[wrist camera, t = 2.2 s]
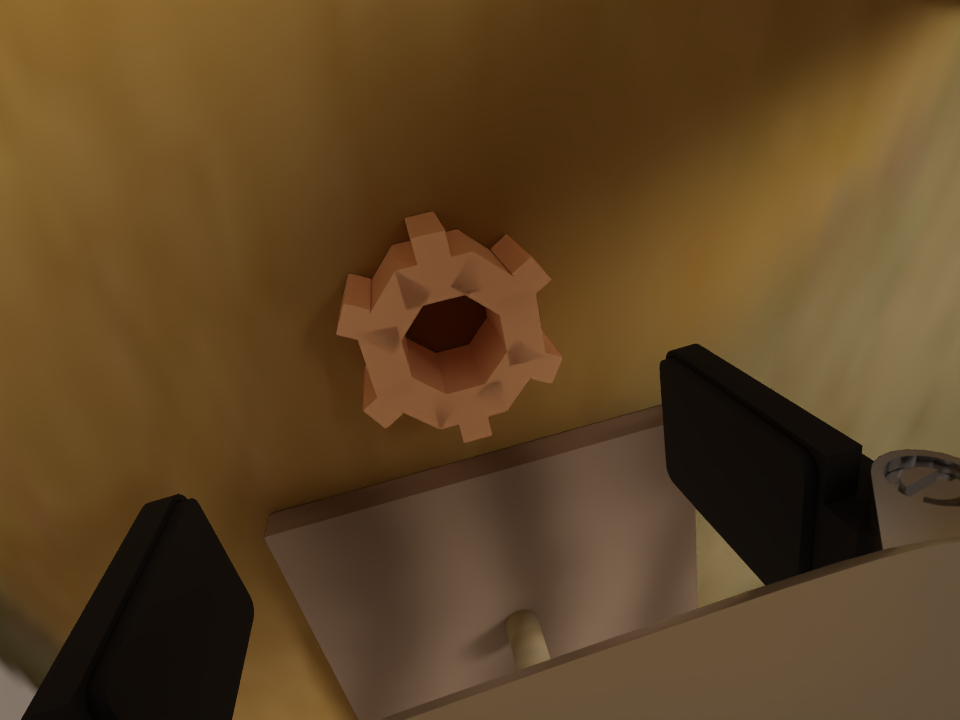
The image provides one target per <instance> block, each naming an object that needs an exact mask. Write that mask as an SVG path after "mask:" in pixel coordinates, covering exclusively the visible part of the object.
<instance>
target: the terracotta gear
mask: <svg viewBox="0 0 960 720" xmlns="http://www.w3.org/2000/svg"><path fill="white" fill-rule="evenodd" d="M404 219H405V223H406V226H407V230H408V234H409V238H410V241H407V242H403V243H399V244H394V245H392V246H391V247H390V249H389V251H388V252H387V254H386V256H385V258H384V259H383V261H382V263H381V264H380V266H379V268H378V270H377V271H376V273H375V275H374V276H373V278H372V280H371V279H370V278H366V277H362V276H359V275H355V274H351V273H348V277H347V281H346V286H345V290H344V294H343V298H342V303H341V309H340V315H339V321H338V327H337V332H336V335H339V336H343V337H348V338H352V339H356V340H358V342H359V345H360V348H361V351H362V354H363V357H364V360H365V363H366V366H365V370H364V397H363V411H364V412H365V413H366V414H368V415H369V416H370V417H371V418H373V419H374V420H375V421H376V422H378V423H379V424H380V425H381V426H383V427H384V428H385V429H387V428H388V427H389V426H390V425H391V424H392V423H393V422H394V421H395V420H397V419H398V418H399V417H400V416H401V415H402V414H403V413H405V414H407V415H409V416H412V417H414V418H416V419H418V420H420V421H422V422H425V423H427V424H429V425H431V426H433V427H435V428H438V429H440V430H441V429H444V428H448V427H452V426H455V425H459V427H460V431H461V434H462V438H463V442H464V443H467V442H470V441H474V440H478V439H481V438H485V437H488V436H492V432H491V427H490V423H489V419H488V416H492V415H495V414H499V413H503V412H506V411H507V410H508V409H509V408H510V406H511V405H512V403H513V402H514V401H515V399H516V398H517V396H518V395H519V394H520V392H521V391H522V389H523V388H524V387H525V385H526V384H527V382H528V381H529V380H530V378H531V379H532V380H537V381H541V382H546V383H550V384H552V383H553V381H554V378H555V376H556V373H557V371H558V369H559V366H560V364H561V361H562V359H563V357H562V355H561V354H560V353H559V351H558V350H557V349H556V348H555V346H554V345H553V344H552V342H551V341H550V340H549V339H548V337H547V336H546V335H545V333H544V332H543V331H542V328H541V322H540V316H539V309H538V303H537V297H536V293H538V292H539V291H540V290H541V289H542V288H543V287H544V286H545V285H546V284H548V283H549V282H550V281H551V280H552V279H551V278H550V277H549V276H548V275H547V274H546V272H545V271H544V270H543V269H542V268H541V267H540V265H539V264H538V263H537V262H536V261H535V260H534V258H533V257H532V256H531V255H530V254H529V253H527V252H526V251H525V250H524V249H523V248H522V247H521V246H520V245H518V244H517V243H516V242H515V241H514V240H513V239H512V238H511V237H510V236H508V235H507V234H506V235H505V236H504V237H502V238H501V239H500V240H499V241H498V242H497V243H496V244H495V245H494V246H493V247H492V248H491V250H489V249H487V248H486V247H484V246H483V245H481V244H480V243H478V242H476V241H475V240H473V239H472V238H470V237H468V236H467V235H465V234H464V233H462V232H461V231H459V230H457V229H456V230H452V231H448V232H445V229H444V228H443V226H442V225H441V223H440V221H439V220H438V218H437V216H436V215H435V213H434V212H433V211H432V212H427V213H423V214H419V215H415V216H411V217H407V218H404ZM463 295H466V296H468V297H469V298H471V299H473V300H474V301H476V302H478V303H480V304H481V305H483V306H485V309H486V313H487V318H486V319H485V321H484V322H483V324H482V325H481V327H480V328H479V330H478V331H477V333H476V334H475V336H474V337H473V339H472V340H471V342H470V343H469V345H465V346H461V347H457V348H453V349H450V350H446V351H442V352H438V353H435V352H433V351H431V350H429V349H427V348H425V347H423V346H421V345H419V344H417V343H415V342H413V341H412V340H410V339H408V338H406V336H405V334H406V332H407V330H408V329H409V327H410V326H411V324H412V322H413V321H414V319H415V318H416V316H417V314H418V313H419V311H420V310H421V308H422V306H424V305H428V304H432V303H436V302H439V301H443V300H447V299H451V298H455V297H459V296H463Z"/></svg>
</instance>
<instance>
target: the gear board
mask: <svg viewBox="0 0 960 720" xmlns="http://www.w3.org/2000/svg"><path fill="white" fill-rule="evenodd" d="M264 539H265V541H266V543H267V545H268V547H269V549H270V551H271V553H272V555H273V557H274V558H275V560H276V562H277V564H278V566H279V568H280V570H281V572H282V574H283V576H284V578H285V580H286V582H287V583H288V585H289V587H290V589H291V591H292V593H293V595H294V597H295V599H296V601H297V603H298V605H299V607H300V609H301V610H302V612H303V614H304V616H305V618H306V620H307V622H308V624H309V626H310V628H311V630H312V632H313V634H314V635H315V637H316V639H317V641H318V643H319V645H320V647H321V649H322V651H323V653H324V655H325V657H326V659H327V661H328V662H329V664H330V666H331V668H332V670H333V672H334V674H335V676H336V678H337V680H338V682H339V684H340V686H341V687H342V689H343V691H344V693H345V695H346V697H347V699H348V701H349V703H350V705H351V707H352V709H353V711H354V713H355V714H356V716H357V718H358V720H379V719H381V718H384V717H387V716H390V715H393V714H395V713H398V712H401V711H404V710H407V709H410V708H412V707H415V706H418V705H421V704H424V703H427V702H429V701H432V700H435V699H438V698H441V697H444V696H447V695H449V694H452V693H455V692H458V691H461V690H464V689H467V688H469V687H472V686H475V685H478V684H481V683H484V682H487V681H489V680H492V679H495V678H498V677H501V676H504V675H507V674H509V673H512V672H515V671H518V670H521V669H524V668H527V667H530V666H532V665H535V664H538V663H541V662H544V661H547V660H550V659H553V658H555V657H558V656H561V655H564V654H567V653H570V652H573V651H575V650H578V649H581V648H584V647H587V646H590V645H593V644H596V643H598V642H601V641H604V640H607V639H610V638H613V637H616V636H619V635H622V634H625V633H628V632H631V631H633V630H636V629H639V628H642V627H645V626H648V625H651V624H654V623H657V622H660V621H663V620H666V619H668V618H671V617H674V616H677V615H680V614H683V613H686V612H689V611H692V610H695V609H698V606H697V565H696V525H695V507H694V506H693V505H692V503H691V502H690V501H689V500H688V499H687V498H686V497H685V496H684V495H683V493H682V492H681V491H680V490H679V489H678V488H677V487H676V486H675V485H674V483H673V482H672V481H671V479H670V477H669V475H668V472H667V468H666V457H665V442H664V427H663V412H662V405H660V406H656V407H653V408H649V409H645V410H642V411H638V412H635V413H631V414H628V415H624V416H620V417H617V418H613V419H610V420H606V421H602V422H599V423H595V424H592V425H588V426H585V427H581V428H577V429H574V430H570V431H567V432H563V433H559V434H556V435H552V436H549V437H545V438H541V439H538V440H534V441H531V442H527V443H524V444H520V445H516V446H513V447H509V448H506V449H502V450H498V451H495V452H491V453H488V454H484V455H481V456H477V457H473V458H470V459H466V460H463V461H459V462H455V463H452V464H448V465H445V466H441V467H438V468H434V469H430V470H427V471H423V472H420V473H416V474H412V475H409V476H405V477H402V478H398V479H395V480H391V481H387V482H384V483H380V484H377V485H373V486H369V487H366V488H362V489H359V490H355V491H352V492H348V493H344V494H341V495H337V496H334V497H330V498H326V499H323V500H319V501H316V502H312V503H308V504H305V505H301V506H298V507H294V508H291V509H287V510H283V511H280V512H276V513H273V514H270V515H269V519H268V523H267V526H266V530H265V534H264Z"/></svg>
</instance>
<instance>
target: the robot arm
mask: <svg viewBox="0 0 960 720" xmlns="http://www.w3.org/2000/svg"><path fill="white" fill-rule="evenodd" d="M660 382H661V397H662V412H663V427H664V442H665V457H666V468H667V472H668V475H669V477H670V479H671V481H672V482H673V483H674V485H675V486H676V487H677V488H678V489H679V490H680V491H681V492H682V493H683V495H684V496H685V497H686V498H687V499H688V500H689V501H690V502H691V503H692V505H693V506H694V507H695V508H696V509H697V510H698V511H699V512H700V513H701V514H702V516H703V517H704V518H705V519H706V520H707V521H708V522H709V523H710V524H711V526H712V527H713V528H714V529H715V530H716V531H717V532H718V533H719V534H720V536H721V537H722V538H723V539H724V540H725V541H726V542H727V543H728V544H729V545H730V547H731V548H732V549H733V550H734V551H735V552H736V553H737V554H738V555H739V557H740V558H741V559H742V560H743V561H744V562H745V563H746V564H747V565H748V567H749V568H750V569H751V570H752V571H753V572H754V573H755V574H756V575H757V576H758V578H759V579H760V580H761V581H762V582H763V583H764V584H765V585H766V586H763V587H760V588H757V589H753V590H750V591H747V592H744V593H741V594H739V595H736V596H733V597H730V598H727V599H724V600H721V601H718V602H715V603H712V604H709V605H706V606H703V607H701V608H698V609H695V610H692V611H689V612H686V613H683V614H680V615H677V616H674V617H671V618H668V619H666V620H663V621H660V622H657V623H654V624H651V625H648V626H645V627H642V628H639V629H636V630H633V631H631V632H628V633H625V634H622V635H619V636H616V637H613V638H610V639H607V640H604V641H601V642H598V643H596V644H593V645H590V646H587V647H584V648H581V649H578V650H575V651H573V652H570V653H567V654H564V655H561V656H558V657H555V658H553V659H550V660H547V661H544V662H541V663H538V664H535V665H532V666H530V667H527V668H524V669H521V670H518V671H515V672H512V673H509V674H507V675H504V676H501V677H498V678H495V679H492V680H489V681H487V682H484V683H481V684H478V685H475V686H472V687H469V688H467V689H464V690H461V691H458V692H455V693H452V694H449V695H447V696H444V697H441V698H438V699H435V700H432V701H429V702H427V703H424V704H421V705H418V706H415V707H412V708H410V709H407V710H404V711H401V712H398V713H395V714H393V715H390V716H387V717H384V718H381V719H379V720H960V458H957V457H954V456H951V455H947V454H944V453H939V452H933V451H928V450H911V449H905V450H898V451H891V452H888V453H886V454H884V455H881V456H879V457H878V458H877V459H876V460H875V461H873V460H871V459H870V458H868V457H867V456H865V455H863V454H862V445H861V444H859V443H857V442H856V441H854V440H853V439H851V438H849V437H848V436H846V435H844V434H843V433H841V432H840V431H838V430H836V429H835V428H833V427H831V426H830V425H828V424H827V423H825V422H823V421H822V420H820V419H819V418H817V417H815V416H814V415H812V414H810V413H809V412H807V411H806V410H804V409H802V408H801V407H799V406H798V405H796V404H794V403H793V402H791V401H789V400H788V399H786V398H785V397H783V396H781V395H780V394H778V393H777V392H775V391H773V390H772V389H770V388H768V387H767V386H765V385H764V384H762V383H760V382H759V381H757V380H756V379H754V378H752V377H751V376H749V375H747V374H746V373H744V372H743V371H741V370H739V369H738V368H736V367H734V366H733V365H731V364H730V363H728V362H726V361H725V360H723V359H722V358H720V357H718V356H717V355H715V354H713V353H712V352H710V351H709V350H707V349H705V348H704V347H702V346H701V345H698V344H692V345H689V346H685V347H682V348H678V349H675V350H671V351H669V352H668V353H667V355H666V359H665V360H662V361H661V362H660ZM253 618H254V607H253V602H252V599H251V597H250V595H249V593H248V591H247V590H246V588H245V586H244V584H243V582H242V581H241V579H240V577H239V575H238V573H237V571H236V570H235V568H234V566H233V564H232V562H231V561H230V559H229V557H228V555H227V553H226V552H225V550H224V548H223V546H222V544H221V543H220V541H219V539H218V537H217V535H216V534H215V532H214V530H213V528H212V526H211V525H210V523H209V521H208V519H207V517H206V515H205V514H204V512H203V510H202V508H201V506H200V505H199V503H198V502H197V501H196V500H195V499H193V498H191V499H187V498H186V497H185V496H183V495H181V494H177V495H174V496H170V497H167V498H163V499H160V500H156V501H153V502H150V503H147V504H145V505H144V506H143V508H142V509H141V511H140V513H139V514H138V516H137V518H136V520H135V521H134V523H133V525H132V527H131V528H130V530H129V532H128V534H127V535H126V537H125V539H124V541H123V542H122V544H121V546H120V548H119V549H118V551H117V553H116V555H115V556H114V558H113V560H112V562H111V563H110V565H109V567H108V569H107V570H106V572H105V574H104V576H103V577H102V579H101V581H100V583H99V584H98V586H97V588H96V590H95V591H94V593H93V595H92V596H91V598H90V600H89V602H88V603H87V605H86V607H85V609H84V610H83V612H82V614H81V616H80V617H79V619H78V621H77V623H76V624H75V626H74V628H73V630H72V631H71V633H70V635H69V637H68V638H67V640H66V642H65V644H64V645H63V647H62V649H61V651H60V652H59V654H58V656H57V658H56V659H55V661H54V663H53V665H52V666H51V668H50V670H49V672H48V673H47V675H46V677H45V679H44V680H43V682H42V684H41V686H40V687H39V689H38V691H37V693H36V694H35V696H34V698H33V699H32V701H31V703H30V705H29V706H28V708H27V710H26V712H25V713H24V715H23V717H22V719H21V720H232V717H233V712H234V708H235V703H236V698H237V694H238V689H239V684H240V680H241V675H242V670H243V665H244V661H245V656H246V651H247V647H248V642H249V637H250V633H251V628H252V623H253Z"/></svg>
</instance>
